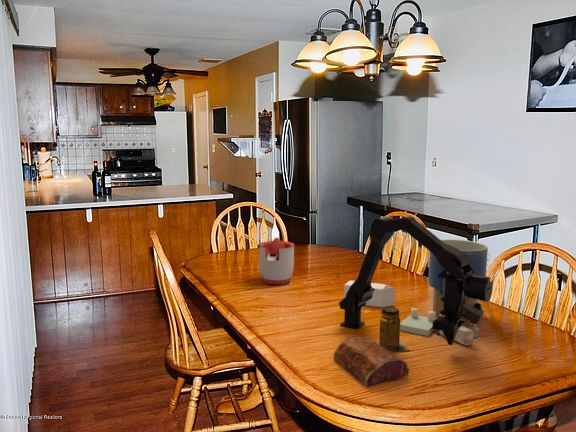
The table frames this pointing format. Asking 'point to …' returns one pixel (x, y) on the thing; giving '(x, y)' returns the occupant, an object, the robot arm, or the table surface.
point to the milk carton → (377, 295)
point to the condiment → (390, 330)
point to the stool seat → (418, 323)
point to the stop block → (476, 330)
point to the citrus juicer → (276, 261)
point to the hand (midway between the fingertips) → (450, 344)
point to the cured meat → (369, 361)
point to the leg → (461, 335)
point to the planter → (475, 259)
